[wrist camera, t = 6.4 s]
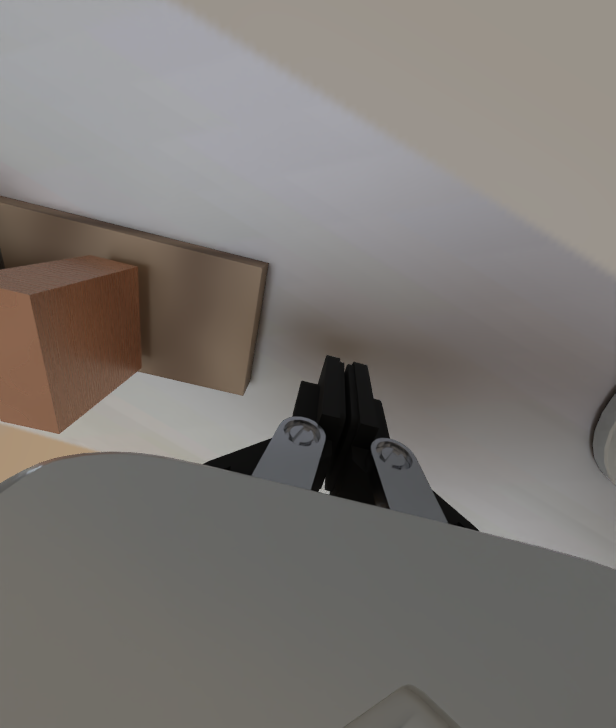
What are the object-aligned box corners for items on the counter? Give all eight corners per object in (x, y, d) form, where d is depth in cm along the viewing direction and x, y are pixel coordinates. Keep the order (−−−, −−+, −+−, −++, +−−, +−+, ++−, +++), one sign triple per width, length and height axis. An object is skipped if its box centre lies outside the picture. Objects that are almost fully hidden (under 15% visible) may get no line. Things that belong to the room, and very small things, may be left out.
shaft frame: (268, 263, 14) (199, 315, 7) (249, 382, 18) (187, 508, 10) (-109, 168, 14) (-659, 109, 6) (-58, 310, 17) (-376, 387, 9)
